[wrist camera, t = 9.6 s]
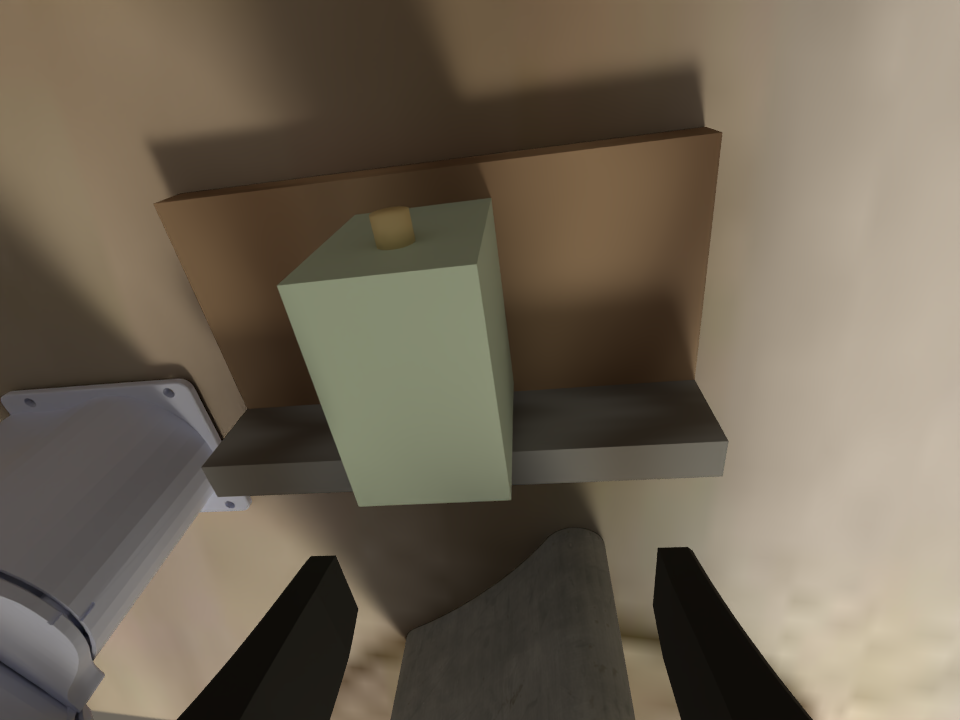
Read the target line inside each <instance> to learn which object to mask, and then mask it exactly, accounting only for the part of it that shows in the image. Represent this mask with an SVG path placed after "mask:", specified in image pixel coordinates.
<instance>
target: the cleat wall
mask: <svg viewBox="0 0 960 720" xmlns="http://www.w3.org/2000/svg"><path fill="white" fill-rule="evenodd" d="M721 140H722V132H719V131H716V130H714V129H711V128H708V127H700V128H692V129H684V130H676V131H668V132H661V133H653V134H645V135H637V136H629V137H621V138H613V139H606V140H598V141H590V142H582V143H574V144H566V145H558V146H551V147H543V148H535V149H527V150H519V151H511V152H503V153H496V154H488V155H480V156H472V157H464V158H456V159H448V160H441V161H433V162H425V163H417V164H409V165H401V166H394V167H386V168H378V169H370V170H362V171H354V172H346V173H339V174H331V175H323V176H315V177H307V178H299V179H291V180H284V181H276V182H268V183H260V184H252V185H244V186H236V187H229V188H221V189H213V190H205V191H197V192H189V193H181V194H178V195H175V196H173V197H170V198H168V199H165V200H162V201H160V202H157V203H154V206H155V208H156V210H157V212H158V215H159V217H160V219H161V221H162V223H163V226H164V228H165V230H166V232H167V234H168V237H169V239H170V241H171V243H172V245H173V247H174V250H175V252H176V254H177V256H178V258H179V261H180V263H181V265H182V267H183V269H184V271H185V274H186V276H187V278H188V280H189V282H190V285H191V287H192V289H193V291H194V293H195V295H196V298H197V300H198V302H199V304H200V306H201V309H202V311H203V313H204V315H205V317H206V320H207V322H208V324H209V326H210V328H211V330H212V333H213V335H214V337H215V339H216V341H217V344H218V346H219V348H220V350H221V352H222V354H223V357H224V359H225V361H226V363H227V365H228V368H229V370H230V372H231V374H232V376H233V379H234V381H235V383H236V385H237V387H238V389H239V392H240V394H241V396H242V398H243V400H244V403H245V405H246V407H247V410H246V411H245V413H244V414H243V415H242V416H241V418H240V419H239V420H238V421H237V423H236V424H235V425H234V426H233V428H232V429H231V430H230V432H229V433H228V434H227V435H226V437H225V438H224V439H223V440H222V442H221V443H220V444H219V445H218V447H217V448H216V449H215V450H214V452H213V453H212V454H211V456H210V457H209V458H208V459H207V461H206V462H205V463H204V464H203V466H202V467H201V468H202V470H203V472H204V474H205V475H206V477H207V479H208V481H209V483H210V484H211V486H212V488H213V490H214V492H215V493H216V495H217V497H234V496H258V495H282V494H307V493H331V492H353V490H352V487H351V484H350V481H349V479H348V476H347V473H346V471H345V468H344V465H343V463H342V460H341V457H340V455H339V452H338V449H337V446H336V444H335V441H334V438H333V436H332V433H331V430H330V428H329V425H328V422H327V420H326V417H325V414H324V411H323V409H322V406H321V403H320V401H319V398H318V395H317V393H316V390H315V387H314V384H313V382H312V379H311V376H310V374H309V371H308V368H307V366H306V363H305V360H304V358H303V355H302V352H301V349H300V347H299V344H298V341H297V339H296V336H295V333H294V331H293V328H292V325H291V323H290V320H289V317H288V314H287V312H286V309H285V306H284V304H283V301H282V298H281V296H280V293H279V290H278V287H277V285H278V284H279V283H280V282H281V281H282V280H284V279H285V278H286V277H287V276H288V275H289V274H290V273H291V272H292V271H294V270H295V269H296V268H297V267H298V266H299V265H300V264H301V263H302V262H303V261H305V260H306V259H307V258H308V257H309V256H310V255H311V254H312V253H313V252H314V251H316V250H317V249H318V248H319V247H320V246H321V245H322V244H323V243H324V242H325V241H327V240H328V239H329V238H330V237H331V236H332V235H333V234H334V233H335V232H336V231H338V230H339V229H340V228H341V227H342V226H343V225H344V224H345V223H346V222H347V221H349V220H350V219H351V218H352V217H353V216H354V215H358V214H366V213H372V212H374V211H377V210H380V209H384V208H389V207H397V206H405V207H408V208H414V207H422V206H430V205H438V204H446V203H454V202H462V201H470V200H478V199H486V198H491V200H492V208H493V216H494V225H495V233H496V241H497V249H498V257H499V266H500V274H501V282H502V290H503V299H504V307H505V315H506V323H507V331H508V340H509V348H510V356H511V364H512V372H513V381H514V392H513V439H512V485H525V484H549V483H573V482H598V481H622V480H646V479H670V478H695V477H719V476H723V471H724V465H725V459H726V453H727V447H728V439H727V438H726V436H725V434H724V432H723V430H722V429H721V427H720V425H719V423H718V421H717V420H716V418H715V416H714V414H713V412H712V410H711V409H710V407H709V405H708V403H707V401H706V400H705V398H704V396H703V394H702V392H701V391H700V389H699V387H698V385H697V383H696V382H695V371H696V362H697V353H698V344H699V335H700V326H701V318H702V309H703V300H704V291H705V282H706V273H707V264H708V255H709V246H710V238H711V229H712V220H713V211H714V202H715V193H716V184H717V175H718V167H719V158H720V149H721Z"/></svg>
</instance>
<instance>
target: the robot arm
mask: <svg viewBox="0 0 960 720" xmlns="http://www.w3.org/2000/svg"><path fill="white" fill-rule="evenodd" d="M170 389H171V390H172V391H173V392H172V391H171V390H170ZM1 402H2V404H3V406H4V407H5V408H6V410H7V411H8V412H9V414H10V416H8V417H7V418H6V419H4V420H3V421H1V422H0V720H94V719H93V716H92V712H91V710H90V709H89V707H88V706H87V705H86V703H87V702H88V700H89V699H90V697H91V696H92V694H93V693H94V691H95V690H96V688H97V687H98V685H99V684H100V682H101V681H102V680H103V678H104V677H105V674H104V673H103V672H102V671H101V670H100V669H99V668H98V667H97V666H96V665H95V664H94V662H93V660H94V659H95V658H96V656H97V655H98V653H99V652H100V651H101V649H102V648H103V646H104V645H105V644H106V642H107V641H108V639H109V638H110V637H111V635H112V634H113V632H114V631H115V630H116V628H117V627H118V625H119V624H120V623H121V621H122V620H123V618H124V617H125V616H126V614H127V613H128V611H129V610H130V609H131V607H132V606H133V605H134V603H135V602H136V600H137V599H138V598H139V596H140V595H141V593H142V592H143V591H144V589H145V588H146V586H147V585H148V584H149V582H150V581H151V579H152V578H153V577H154V575H155V574H156V572H157V571H158V570H159V568H160V567H161V565H162V564H163V563H164V561H165V560H166V558H167V557H168V556H169V554H170V553H171V551H172V550H173V549H174V547H175V546H176V544H177V543H178V542H179V540H180V539H181V538H182V536H183V535H184V533H185V532H186V531H187V529H188V528H189V526H190V525H191V524H192V522H193V521H194V519H195V518H196V517H197V515H198V514H199V512H217V511H243V510H247V509H248V508H249V506H250V505H251V503H252V500H251V497H250V496H234V497H217V495H216V493H215V492H214V490H213V488H212V486H211V484H210V483H209V481H208V479H207V477H206V475H205V474H204V472H203V470H202V468H201V467H202V466H203V464H204V463H205V462H206V461H207V459H208V458H209V457H210V456H211V454H212V453H213V452H214V450H215V449H216V448H217V447H218V445H219V444H220V443H221V442H222V441H221V439H220V437H219V435H218V433H217V431H216V429H215V427H214V425H213V423H212V421H211V419H210V417H209V415H208V413H207V412H206V410H205V408H204V406H203V404H202V402H201V400H200V398H199V396H198V394H197V392H196V390H195V388H194V386H193V385H192V384H191V383H190V382H189V381H187V380H185V379H166V380H152V381H139V382H126V383H112V384H99V385H86V386H72V387H59V388H46V389H33V390H19V391H10V392H8V393H6V394H4V395H3V396H2V397H1ZM653 609H654V614H655V619H656V625H657V630H658V635H659V640H660V645H661V650H662V655H663V659H664V663H665V666H666V669H667V673H668V676H669V680H670V683H671V687H672V690H673V693H674V697H675V700H676V703H677V707H678V710H679V714H680V717H681V720H813V719H812V718H811V717H810V716H809V715H808V713H807V712H806V711H805V710H804V708H803V707H802V706H801V705H800V703H799V702H798V701H797V700H796V698H795V697H794V696H793V695H792V693H791V692H790V691H789V690H788V688H787V687H786V686H785V685H784V683H783V682H782V681H781V679H780V678H779V677H778V675H777V674H776V673H775V672H774V670H773V669H772V668H771V666H770V665H769V664H768V662H767V661H766V660H765V658H764V657H763V655H762V654H761V653H760V651H759V650H758V649H757V647H756V646H755V645H754V643H753V642H752V640H751V639H750V638H749V636H748V635H747V634H746V632H745V631H744V630H743V628H742V627H741V625H740V624H739V622H738V621H737V620H736V618H735V617H734V615H733V614H732V612H731V611H730V609H729V608H728V606H727V605H726V603H725V602H724V600H723V599H722V597H721V596H720V594H719V593H718V591H717V590H716V588H715V587H714V585H713V584H712V582H711V581H710V579H709V577H708V576H707V574H706V573H705V571H704V569H703V568H702V566H701V564H700V563H699V561H698V559H697V558H696V556H695V554H694V552H693V551H692V550H691V549H690V548H688V547H673V548H658V552H657V564H656V576H655V587H654V599H653ZM357 613H358V607H357V605H356V602H355V600H354V598H353V595H352V593H351V590H350V588H349V586H348V583H347V581H346V579H345V576H344V574H343V572H342V569H341V567H340V565H339V562H338V560H337V557H336V556H311V557H310V558H309V559H308V560H307V561H306V563H305V564H304V565H303V566H302V568H301V569H300V570H299V572H298V573H297V574H296V576H295V577H294V578H293V579H292V581H291V582H290V583H289V585H288V586H287V587H286V589H285V590H284V591H283V593H282V594H281V595H280V596H279V598H278V599H277V600H276V602H275V603H274V604H273V606H272V607H271V608H270V609H269V611H268V612H267V613H266V615H265V616H264V617H263V618H262V620H261V621H260V622H259V623H258V625H257V626H256V627H255V628H254V630H253V631H252V632H251V633H250V635H249V636H248V637H247V638H246V640H245V641H244V642H243V643H242V645H241V646H240V647H239V648H238V650H237V651H236V652H235V653H234V655H233V656H232V657H231V658H230V659H229V661H228V662H227V663H226V664H225V665H224V666H223V668H222V669H221V670H220V671H219V672H218V673H217V675H216V676H215V677H214V678H213V679H212V680H211V682H210V683H209V684H208V685H207V686H206V687H205V688H204V690H203V691H202V692H201V693H200V694H199V695H198V697H197V698H196V699H195V700H194V701H193V702H192V703H191V704H190V706H189V707H188V708H187V709H186V710H185V711H184V712H183V713H182V714H181V715H180V717H179V718H178V719H177V720H330V717H331V714H332V711H333V708H334V705H335V701H336V698H337V695H338V692H339V688H340V685H341V682H342V678H343V675H344V672H345V669H346V665H347V662H348V658H349V654H350V649H351V645H352V640H353V635H354V629H355V624H356V618H357Z"/></svg>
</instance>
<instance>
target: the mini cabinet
mask: <svg viewBox="0 0 960 720" xmlns="http://www.w3.org/2000/svg"><path fill="white" fill-rule="evenodd" d="M277 287H278V290H279V293H280V296H281V298H282V301H283V304H284V306H285V309H286V312H287V314H288V317H289V320H290V323H291V325H292V328H293V331H294V333H295V336H296V339H297V341H298V344H299V347H300V349H301V352H302V355H303V358H304V360H305V363H306V366H307V368H308V371H309V374H310V376H311V379H312V382H313V384H314V387H315V390H316V393H317V395H318V398H319V401H320V403H321V406H322V409H323V411H324V414H325V417H326V420H327V422H328V425H329V428H330V430H331V433H332V436H333V438H334V441H335V444H336V446H337V449H338V452H339V455H340V457H341V460H342V463H343V465H344V468H345V471H346V473H347V476H348V479H349V481H350V484H351V487H352V490H353V492H354V495H355V498H356V500H357V503H358V506H359V507H364V506H387V505H410V504H433V503H456V502H479V501H502V500H511V486H512V439H513V392H514V381H513V372H512V364H511V356H510V348H509V340H508V331H507V323H506V315H505V307H504V299H503V290H502V282H501V274H500V266H499V257H498V249H497V241H496V233H495V225H494V216H493V208H492V200H491V198H486V199H478V200H470V201H462V202H454V203H446V204H438V205H430V206H422V207H414V208H408V207H405V206H397V207H389V208H384V209H380V210H377V211H374V212H372V213H366V214H358V215H354V216H353V217H352V218H351V219H350V220H349V221H347V222H346V223H345V224H344V225H343V226H342V227H341V228H340V229H339V230H338V231H336V232H335V233H334V234H333V235H332V236H331V237H330V238H329V239H328V240H327V241H325V242H324V243H323V244H322V245H321V246H320V247H319V248H318V249H317V250H316V251H314V252H313V253H312V254H311V255H310V256H309V257H308V258H307V259H306V260H305V261H303V262H302V263H301V264H300V265H299V266H298V267H297V268H296V269H295V270H294V271H292V272H291V273H290V274H289V275H288V276H287V277H286V278H285V279H284V280H282V281H281V282H280V283H279V284H278V285H277Z"/></svg>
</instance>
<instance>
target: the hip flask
mask: <svg viewBox="0 0 960 720" xmlns="http://www.w3.org/2000/svg"><path fill="white" fill-rule="evenodd" d="M391 720H635V715H634V709H633V704H632V698H631V692H630V687H629V681H628V675H627V670H626V664H625V658H624V653H623V647H622V641H621V635H620V630H619V624H618V618H617V613H616V607H615V601H614V596H613V590H612V584H611V579H610V573H609V567H608V561H607V556H606V550H605V544H604V542H603V540H602V539H601V537H600V536H599V535H597V534H596V533H594V532H592V531H590V530H587V529H582V528H567V529H562V530H560V531H557V532H555V533H553V534H552V535H551V536H550V537H548V538H547V540H546V541H545V542H544V543H543V544H542V545H541V546H540V547H539V548H538V549H537V550H536V551H535V552H534V553H533V554H532V555H531V556H530V557H529V558H528V559H526V560H525V561H524V562H523V563H522V564H521V565H520V566H518V567H517V568H516V569H515V570H514V571H512V572H511V573H510V574H509V575H507V576H506V577H505V578H503V579H502V580H501V581H499V582H498V583H497V584H495V585H494V586H492V587H491V588H489V589H488V590H486V591H485V592H483V593H482V594H480V595H479V596H477V597H476V598H474V599H473V600H471V601H469V602H468V603H466V604H465V605H463V606H461V607H459V608H458V609H456V610H454V611H452V612H450V613H448V614H446V615H444V616H442V617H440V618H438V619H436V620H434V621H432V622H430V623H427V624H425V625H423V626H420V627H418V628H415V629H413V630H412V631H410V632H409V633H408V635H407V639H406V644H405V649H404V654H403V659H402V664H401V670H400V675H399V680H398V685H397V690H396V695H395V700H394V705H393V710H392V715H391Z"/></svg>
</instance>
